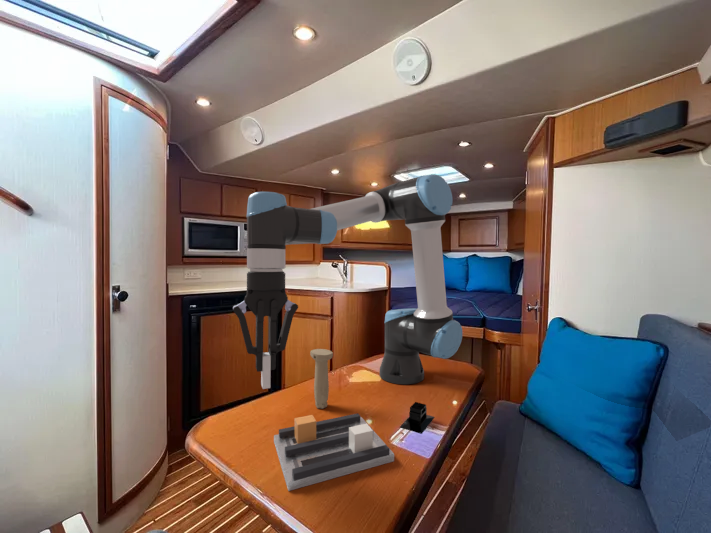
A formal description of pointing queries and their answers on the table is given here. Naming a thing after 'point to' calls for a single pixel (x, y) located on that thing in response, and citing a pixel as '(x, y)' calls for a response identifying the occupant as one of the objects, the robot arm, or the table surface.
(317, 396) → the handle
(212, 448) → the table surface
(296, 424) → the toggle
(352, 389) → the table surface
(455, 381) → the table surface
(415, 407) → the black notched stand
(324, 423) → the slotted rail tray
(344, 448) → the panel
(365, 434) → the toggle
